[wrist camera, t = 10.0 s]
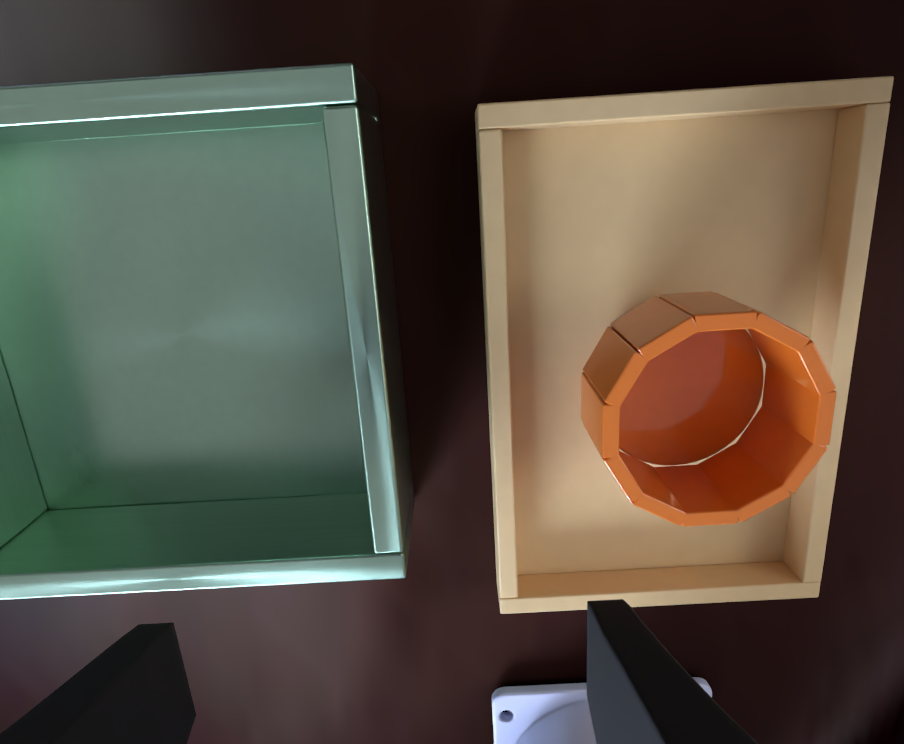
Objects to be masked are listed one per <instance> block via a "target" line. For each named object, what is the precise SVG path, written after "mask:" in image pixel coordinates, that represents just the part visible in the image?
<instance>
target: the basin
mask: <svg viewBox="0 0 904 744" xmlns="http://www.w3.org/2000/svg"><path fill="white" fill-rule="evenodd" d="M414 502H415V500H414V489H413V478H412V467H411V456H410V445H409V434H408V423H407V412H406V401H405V390H404V379H403V368H402V358H401V347H400V336H399V325H398V314H397V303H396V292H395V281H394V270H393V259H392V248H391V237H390V226H389V215H388V204H387V193H386V182H385V171H384V160H383V149H382V139H381V128H380V117H379V106H378V95H377V91H376V89H375V88H374V87H373V86H372V85H371V84H370V83H369V81H368V80H367V79H366V78H365V77H364V75H363V74H362V73H361V72H360V71H359V69H358V68H357V67H356V66H355V65H354V64H353V63H351V62H346V63H331V64H317V65H303V66H288V67H274V68H259V69H245V70H230V71H216V72H201V73H187V74H172V75H158V76H143V77H129V78H115V79H100V80H86V81H71V82H57V83H42V84H28V85H13V86H0V600H6V599H25V598H44V597H62V596H81V595H100V594H118V593H137V592H156V591H175V590H193V589H212V588H231V587H250V586H268V585H287V584H306V583H324V582H343V581H362V580H381V579H399V578H405V577H406V571H407V563H408V554H409V545H410V537H411V528H412V519H413V511H414V510H413V509H414Z"/></svg>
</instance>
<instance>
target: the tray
mask: <svg viewBox="0 0 904 744" xmlns="http://www.w3.org/2000/svg"><path fill="white" fill-rule="evenodd" d="M893 80H894V77H893V76H881V77H867V78H852V79H837V80H822V81H807V82H793V83H778V84H763V85H748V86H733V87H719V88H704V89H689V90H674V91H660V92H645V93H630V94H615V95H600V96H586V97H571V98H556V99H541V100H526V101H512V102H497V103H482V104H478V105H477V108H476V111H475V129H476V150H477V172H478V193H479V214H480V236H481V257H482V278H483V300H484V321H485V342H486V363H487V385H488V406H489V427H490V449H491V470H492V491H493V513H494V534H495V555H496V577H497V588H498V597H499V606H500V612H501V614H509V613H528V612H547V611H566V610H585V609H587V601H597V600H617V599H623V600H624V601H626V602H627V603H628V604H629V605H630V606H631V607H643V606H662V605H681V604H700V603H719V602H739V601H758V600H777V599H796V598H815V597H818V596H819V590H820V581H821V577H822V570H823V563H824V556H825V549H826V542H827V535H828V529H829V522H830V515H831V508H832V501H833V494H834V487H835V480H836V474H837V467H838V460H839V453H840V446H841V439H842V432H843V425H844V419H845V412H846V405H847V398H848V391H849V384H850V377H851V370H852V364H853V357H854V350H855V343H856V336H857V329H858V322H859V315H860V309H861V302H862V295H863V288H864V281H865V274H866V267H867V260H868V253H869V247H870V240H871V233H872V226H873V219H874V212H875V205H876V198H877V192H878V185H879V178H880V171H881V164H882V157H883V150H884V143H885V137H886V130H887V123H888V116H889V109H890V103H888V102H889V101H890V100H891V94H892V87H893ZM708 291H710V292H713V293H714V292H715V293H718V294H720V295H723V296H725V297H727V298H730V299H732V300H734V301H737V302H739V303H741V304H744V305H746V306H748V307H751V308H753V309H756V310H758V311H760V312H762V313H764V314H766V315H768V316H770V317H772V318H774V319H776V320H777V321H779V322H781V323H783V324H785V325H787V326H789V327H791V328H793V329H794V330H796V331H798V332H800V333H802V334H804V335H806V336H808V337H809V338H810V340H812V341H813V342H814V344H815V346H816V348H817V350H818V352H819V354H820V356H821V358H822V360H823V362H824V364H825V366H826V368H827V370H828V372H829V374H830V376H831V378H832V380H833V382H834V384H835V386H836V389H835V391H836V392H837V394H836V402H835V409H834V416H833V423H832V430H831V438H830V444H829V445H825V446H826V447H827V448H828V449H827V450H826V452H825V453H824V454H823V456H822V457H821V458H820V460H819V461H818V462H817V464H816V465H815V466H814V468H813V469H812V470H811V472H810V473H809V474H808V476H807V477H806V478H805V480H804V481H803V482H802V484H801V485H800V486H799V488H798V489H797V490H796V492H795V493H791V492H790V494H791V496H790V497H788V498H787V499H785V500H783V501H781V502H779V503H777V504H775V505H773V506H772V507H770V508H768V509H766V510H764V511H762V512H760V513H758V514H756V515H755V516H753V517H751V518H749V519H747V520H745V521H743V522H739V521H738V523H737V524H723V525H705V526H687V527H684V526H682V525H680V526H678V525H676V524H674V523H672V522H669V521H667V520H665V519H663V518H661V517H659V516H656V515H654V514H652V513H650V512H648V511H646V510H643V509H641V508H639V507H637V506H635V505H633V504H632V502H630V501H629V500H628V499H627V497H626V495H625V494H624V492H623V491H622V489H621V488H620V486H619V485H618V483H617V482H616V480H615V478H614V477H613V475H612V474H611V472H610V471H609V469H608V468H607V466H606V465H605V463H604V461H603V460H602V458H601V456H600V454H599V452H598V450H597V448H596V447H595V445H594V443H593V441H592V439H591V437H590V436H589V434H588V432H587V430H586V428H585V426H584V424H583V422H582V421H583V420H582V419H581V374H582V372H584V371H583V367H584V366H585V364H586V362H587V361H588V359H589V357H590V356H591V354H592V352H593V350H594V349H595V347H596V345H597V344H598V342H599V340H600V339H601V337H602V335H603V333H604V332H605V330H606V328H607V327H608V326H610V327H611V323H612V322H614V321H615V320H617V319H619V318H620V317H622V316H623V315H625V314H627V313H628V312H630V311H632V310H633V309H635V308H636V307H638V306H640V305H641V304H643V303H645V302H646V301H648V300H649V299H651V298H653V297H654V296H657V297H658V296H659V295H660V294H676V293H692V292H708ZM746 330H747V332H748V333H749V331H748V329H746ZM749 334H750V333H749ZM750 335H751V334H750ZM751 337H752V336H751ZM759 352H760V351H759ZM760 355H761V353H760ZM761 359H762V363H763V371H764V379H765V369H766V363H765V361H764V359H763V357H762V355H761ZM763 389H764V384H763ZM762 399H763V390H762V396H761V399H760V402H759V405H758V407H757V410H756V412H755V414H754V416H755V415H756V414H757V412H758V411H759V409H760V408H761V406H762ZM754 416H753V418H754ZM753 418H752V419H753ZM752 419H751V421H752ZM751 421H750V422H751ZM750 422H749V424H750ZM749 424H748V425H749ZM748 425H747V426H748ZM746 428H747V427H746ZM746 428H745V429H746ZM745 429H744V430H743V432H744V431H745ZM743 432H742V433H741V434H740V435H739V436H738V437H737V438H736V439H735V440H734V441H733V442H731V443H730V444H729V445H728V446H726V447H725V448H724V449H726V448H728V447H729V446H731V445H733V444H735V443H736V442H737V441H738V439H739V438H740V437H741V435H742V434H743ZM724 449H722V450H724ZM722 450H720V451H722ZM619 451H621V452H623V451H622V450H620V449H619ZM720 451H719V452H720ZM719 452H717V453H719ZM623 453H624V452H623ZM717 453H716V454H717ZM625 454H626V453H625ZM627 455H628V454H627ZM714 455H715V454H714ZM711 456H713V455H711ZM711 456H709V457H707V458H705V459H702V460H699V461H697V462H693V463H688V464H683V465H697V464H699V463H701V462H702V461H704V460H706V459H708V458H710V457H711ZM642 462H643V461H642ZM644 463H646V464H649V465H651V466H653V467H663V466H680V465H657V464H651V463H647V462H644Z"/></svg>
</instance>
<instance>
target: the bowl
mask: <svg viewBox="0 0 904 744" xmlns="http://www.w3.org/2000/svg"><path fill="white" fill-rule="evenodd" d="M746 329H748V331H749V333H750V334H751V335H750V334H749V333H748V332H747V330H746ZM751 336H752V337H751ZM759 351H760V352H759ZM760 353H761V355H762V357H763V359H764V361H765V363H766V369H765V379H764V371H763V363H762V359H761V355H760ZM583 371H584V372H582V374H581V419H582V420H583V421H582V422H583V424H584V426H585V428H586V430H587V432H588V434H589V436H590V437H591V439H592V441H593V443H594V445H595V447H596V448H597V450H598V452H599V454H600V456H601V458H602V460H603V461H604V463H605V465H606V466H607V468H608V469H609V471H610V472H611V474H612V475H613V477H614V478H615V480H616V482H617V483H618V485H619V486H620V488H621V489H622V491H623V492H624V494H625V495H626V497H627V499H628V500H629V501H630V502H632V504H633V505H635V506H637V507H639V508H641V509H643V510H646V511H648V512H650V513H652V514H654V515H656V516H659V517H661V518H663V519H665V520H667V521H669V522H672V523H674V524H676V525H678V526H680V525H682V526H684V527H687V526H705V525H723V524H737V523H738V521H739V522H743V521H745V520H747V519H749V518H751V517H753V516H755V515H756V514H758V513H760V512H762V511H764V510H766V509H768V508H770V507H772V506H773V505H775V504H777V503H779V502H781V501H783V500H785V499H787V498H788V497H790V496H791V494H790V492H791V493H795V492H796V490H797V489H798V488H799V486H800V485H801V484H802V482H803V481H804V480H805V478H806V477H807V476H808V474H809V473H810V472H811V470H812V469H813V468H814V466H815V465H816V464H817V462H818V461H819V460H820V458H821V457H822V456H823V454H824V453H825V452H826V450H827V449H828V448H827V447H826V446H825V445H829V444H830V438H831V430H832V423H833V416H834V409H835V402H836V394H837V392H836V391H835V389H836V386H835V384H834V382H833V380H832V378H831V376H830V374H829V372H828V370H827V368H826V366H825V364H824V362H823V360H822V358H821V356H820V354H819V352H818V350H817V348H816V346H815V344H814V342H813V341H812V340H810V338H809V337H808V336H806V335H804V334H802V333H800V332H798V331H796V330H794V329H793V328H791V327H789V326H787V325H785V324H783V323H781V322H779V321H777V320H776V319H774V318H772V317H770V316H768V315H766V314H764V313H762V312H760V311H758V310H756V309H753V308H751V307H748V306H746V305H744V304H741V303H739V302H737V301H734V300H732V299H730V298H727V297H725V296H723V295H720V294H718V293H715V292H714V293H713V292H710V291H708V292H692V293H676V294H660V295H659V296H658V297H657V296H654V297H653V298H651V299H649V300H648V301H646V302H645V303H643V304H641V305H640V306H638V307H636V308H635V309H633V310H632V311H630V312H628V313H627V314H625V315H623V316H622V317H620V318H619V319H617V320H615V321H614V322H612V323H611V327H610V326H608V327H607V328H606V330H605V332H604V333H603V335H602V337H601V339H600V340H599V342H598V344H597V345H596V347H595V349H594V350H593V352H592V354H591V356H590V357H589V359H588V361H587V362H586V364H585V366H584V367H583ZM763 384H764V389H763ZM762 390H763V399H762V406H761V408H760V409H759V411H758V412H757V414H756V415H755V416H754V414H755V412H756V410H757V407H758V405H759V402H760V399H761V396H762ZM753 416H754V418H753ZM752 418H753V419H752ZM751 419H752V421H751ZM750 421H751V422H750ZM749 422H750V424H749ZM748 424H749V425H748ZM747 425H748V426H747ZM746 427H747V428H746ZM745 428H746V429H745ZM744 429H745V431H744V432H743V430H744ZM742 432H743V434H742V435H741V437H740V438H739V439H738V441H737V442H736V443H735V444H733V445H731V446H729V447H728V448H726V449H724V448H725V447H726V446H728V445H729V444H730V443H731V442H733V441H734V440H735V439H736V438H737V437H738V436H739V435H740V434H741V433H742ZM619 449H620V450H622V451H623V452H624V453H623V452H621V451H619ZM722 449H724V450H722ZM720 450H722V451H720ZM719 451H720V452H719ZM717 452H719V453H717ZM625 453H626V454H625ZM716 453H717V454H716ZM627 454H628V455H627ZM714 454H715V455H714ZM711 455H713V456H711ZM709 456H711V457H710V458H708V459H706V460H704V461H702V462H701V463H699V464H697V465H683V464H688V463H693V462H697V461H699V460H702V459H705V458H707V457H709ZM642 461H643V462H642ZM644 462H647V463H651V464H657V465H680V466H663V467H653V466H651V465H649V464H646V463H644Z"/></svg>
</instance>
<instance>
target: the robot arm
mask: <svg viewBox="0 0 904 744" xmlns="http://www.w3.org/2000/svg"><path fill="white" fill-rule="evenodd" d="M505 710H508V711H509V712H502V711H505ZM492 715H493V733H494V744H758V743H757V742H756V741H755V740H754V739H753V738H752V737H751V736H750V735H749V734H748V733H747V732H746V731H745V730H744V729H743V728H742V727H741V726H739V725H738V724H737V723H736V722H735V721H734V720H733V719H732V718H731V717H730V716H729V715H728V714H727V713H726V712H725V711H724V710H723V709H722V708H721V707H720V706H719V705H718V704H717V703H716V702H715V701H714V700H713V699H712V690H711V688H710V686H709V684H708V682H707V681H706V680H705V679H703V678H699V677H692V676H691V675H690V674H689V673H688V672H687V671H686V670H685V669H684V668H683V667H682V666H681V665H680V664H679V662H678V661H677V660H676V659H675V658H674V657H673V656H672V655H671V653H670V652H669V651H668V650H667V649H666V648H665V647H664V646H663V644H662V643H661V642H660V641H659V640H658V639H657V637H656V636H655V635H654V634H653V633H652V632H651V630H650V629H649V628H648V627H647V626H646V625H645V623H644V622H643V621H642V620H641V619H640V617H639V616H638V615H637V614H636V612H635V611H634V610H633V609H632V608H631V606H630V605H629V604H628V603H627V602H626V601H624V600H623V599H617V600H597V601H587V683H569V684H549V685H529V686H509V687H501V688H498V689H497V690H495V691H494V693H493V694H492ZM195 716H196V713H195V709H194V705H193V701H192V697H191V693H190V689H189V684H188V680H187V676H186V672H185V668H184V664H183V660H182V656H181V652H180V648H179V644H178V640H177V635H176V631H175V627H174V623H159V624H140V625H138V626H136V627H135V628H134V629H132V630H131V631H130V632H128V633H127V634H125V635H124V636H123V637H122V638H120V639H119V640H118V641H116V642H115V643H114V644H113V645H111V646H110V647H109V648H108V649H106V650H105V651H104V652H103V653H101V654H100V655H99V656H98V657H96V658H95V659H94V660H93V661H91V662H90V663H89V664H88V665H86V666H85V667H84V668H83V669H81V670H80V671H79V672H78V673H77V674H75V675H74V676H73V677H72V678H70V679H69V680H68V681H67V682H65V683H64V684H63V685H62V686H60V687H59V688H58V689H57V690H55V691H54V692H53V693H52V694H50V695H49V696H48V697H47V698H45V699H44V700H43V701H42V702H40V703H39V704H38V705H37V706H35V707H34V708H33V709H32V710H30V711H29V712H28V713H27V714H25V715H24V716H23V717H22V718H20V719H19V720H18V721H17V722H15V723H14V724H13V725H11V726H10V727H9V728H7V729H6V730H5V731H3V732H2V733H1V734H0V744H187V741H188V738H189V735H190V732H191V729H192V725H193V722H194V719H195Z"/></svg>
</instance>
